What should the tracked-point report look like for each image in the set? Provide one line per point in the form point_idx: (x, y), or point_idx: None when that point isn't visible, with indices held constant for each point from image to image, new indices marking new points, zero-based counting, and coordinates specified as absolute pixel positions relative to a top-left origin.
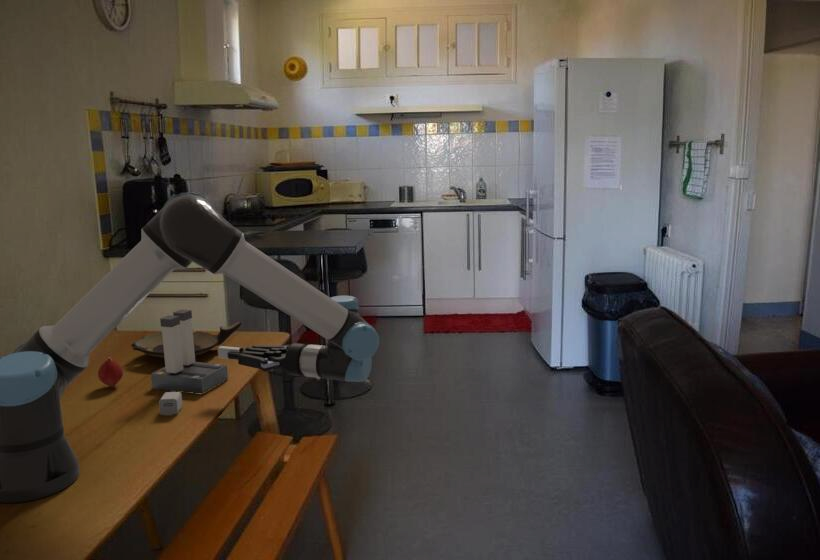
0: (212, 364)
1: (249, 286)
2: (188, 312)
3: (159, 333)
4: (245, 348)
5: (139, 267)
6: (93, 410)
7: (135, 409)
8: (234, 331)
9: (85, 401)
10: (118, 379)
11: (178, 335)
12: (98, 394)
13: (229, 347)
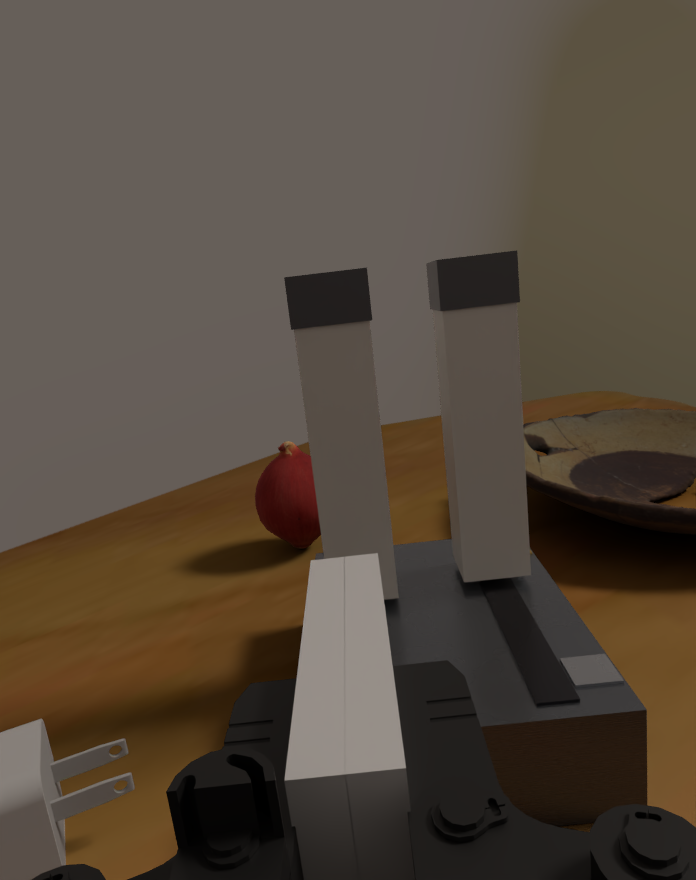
0: (580, 642)
1: None
2: (485, 261)
3: (664, 411)
4: (424, 793)
5: None
6: (77, 615)
7: (67, 703)
8: None
9: (166, 567)
10: (292, 530)
11: (359, 392)
12: (231, 558)
13: (352, 618)
